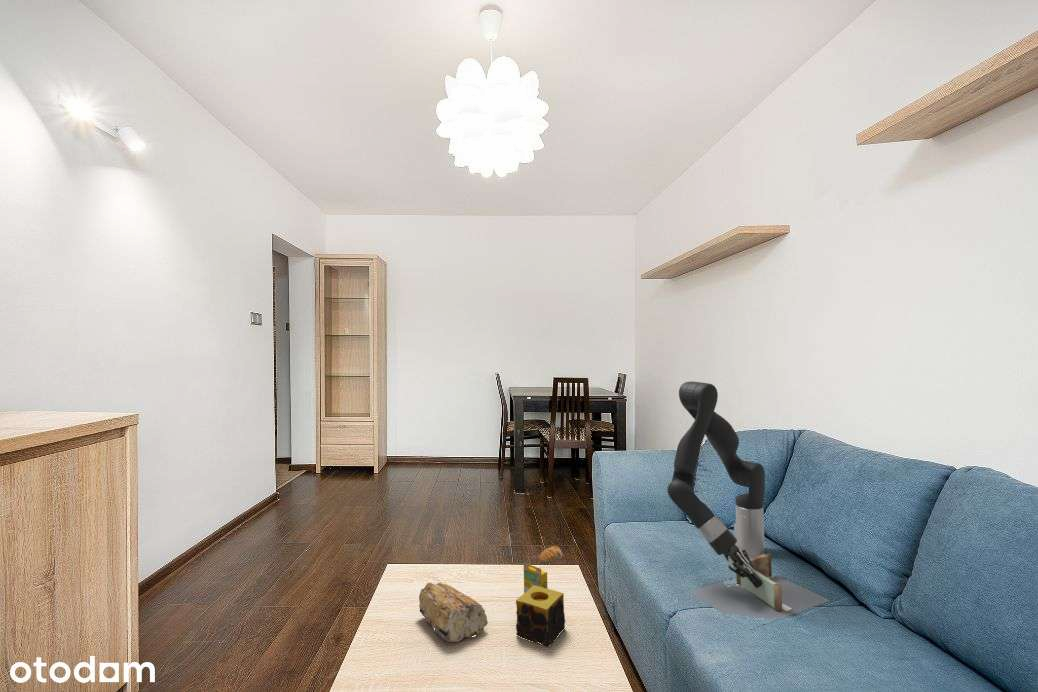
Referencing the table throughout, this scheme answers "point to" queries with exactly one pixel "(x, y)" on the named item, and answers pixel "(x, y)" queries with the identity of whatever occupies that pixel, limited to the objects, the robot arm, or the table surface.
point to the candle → (540, 615)
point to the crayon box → (534, 577)
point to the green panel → (764, 590)
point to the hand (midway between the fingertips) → (760, 585)
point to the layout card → (757, 599)
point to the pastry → (550, 555)
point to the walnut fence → (762, 564)
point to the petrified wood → (451, 612)
